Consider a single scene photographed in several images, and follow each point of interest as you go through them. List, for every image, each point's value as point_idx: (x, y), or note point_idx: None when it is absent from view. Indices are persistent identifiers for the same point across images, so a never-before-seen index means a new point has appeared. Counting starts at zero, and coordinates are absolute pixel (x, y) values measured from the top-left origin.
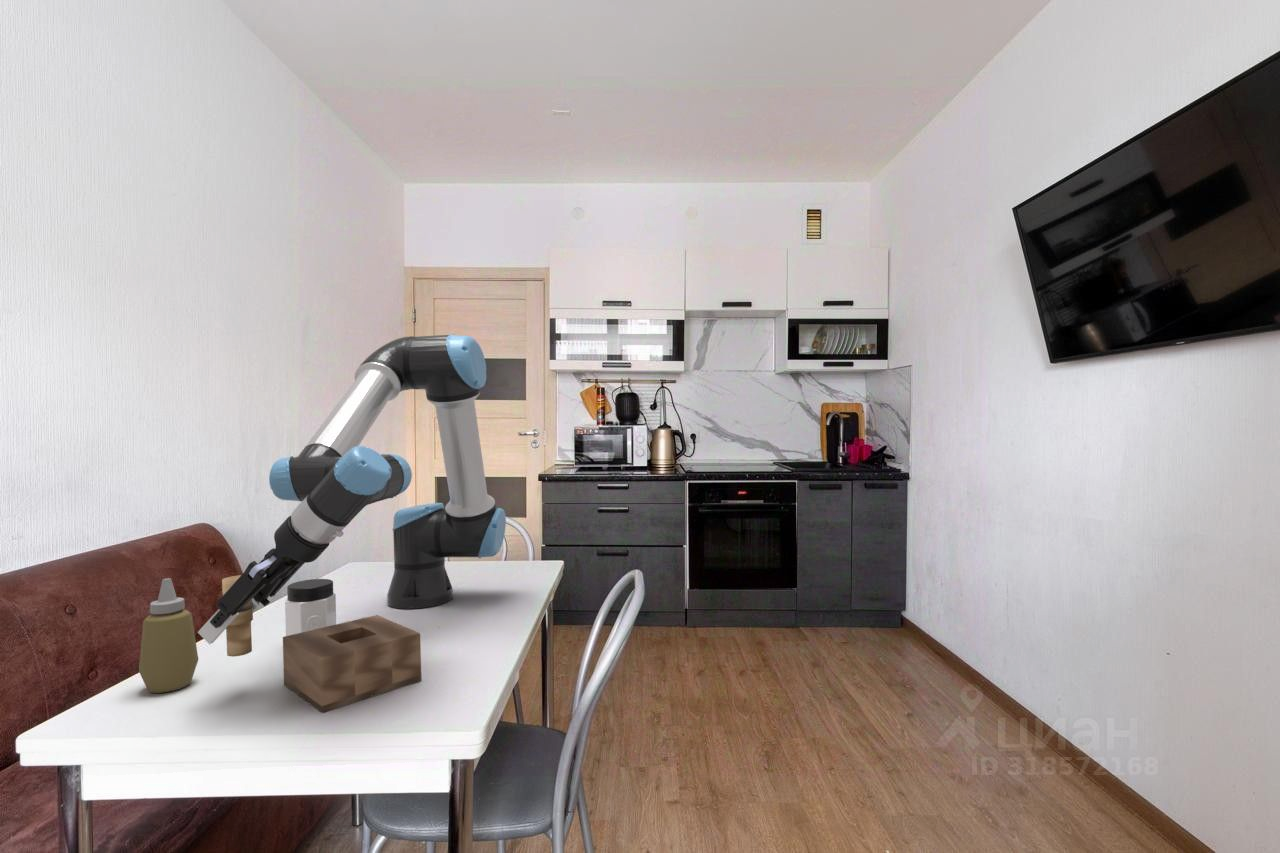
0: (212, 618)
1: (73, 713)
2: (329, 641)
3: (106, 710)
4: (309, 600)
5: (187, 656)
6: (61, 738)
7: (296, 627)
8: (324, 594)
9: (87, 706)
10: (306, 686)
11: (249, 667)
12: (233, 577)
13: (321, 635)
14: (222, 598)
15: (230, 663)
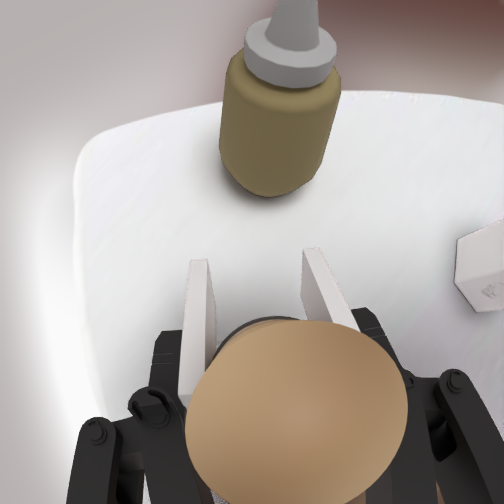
0: (154, 350)
1: (155, 118)
2: None
3: (166, 152)
4: None
5: (273, 180)
6: (79, 183)
7: (484, 261)
8: None
9: (179, 113)
10: None
11: (379, 241)
12: (321, 386)
13: (362, 496)
14: (76, 472)
15: (384, 188)
